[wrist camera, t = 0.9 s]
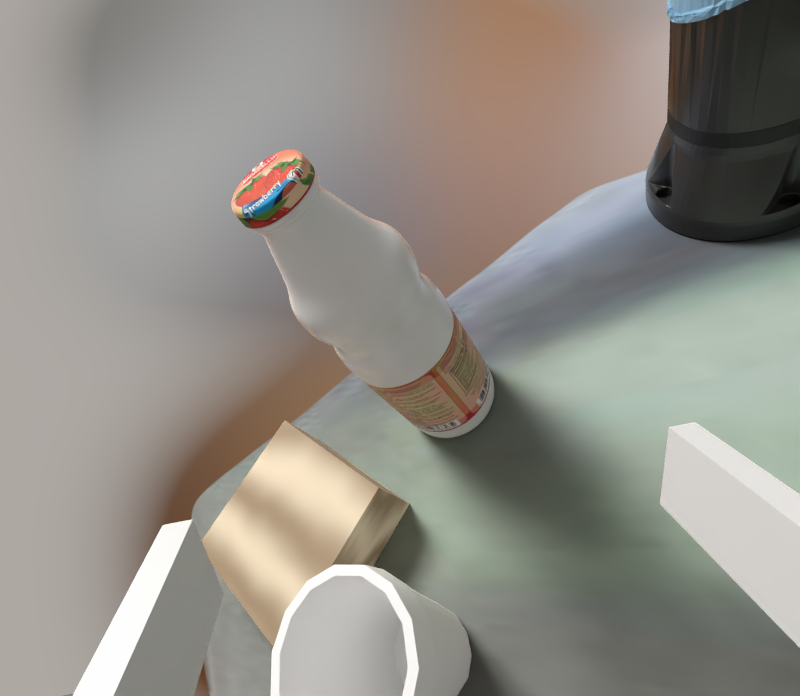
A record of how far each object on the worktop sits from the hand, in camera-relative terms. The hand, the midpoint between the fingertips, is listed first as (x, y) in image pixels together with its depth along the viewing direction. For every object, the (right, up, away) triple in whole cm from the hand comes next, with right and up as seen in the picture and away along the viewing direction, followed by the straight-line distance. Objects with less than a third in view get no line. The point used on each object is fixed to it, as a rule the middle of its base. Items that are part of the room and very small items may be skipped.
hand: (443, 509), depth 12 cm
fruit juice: (+4, -1, +32) cm, 32 cm away
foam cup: (+1, -19, +21) cm, 29 cm away
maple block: (-9, -14, +31) cm, 35 cm away
